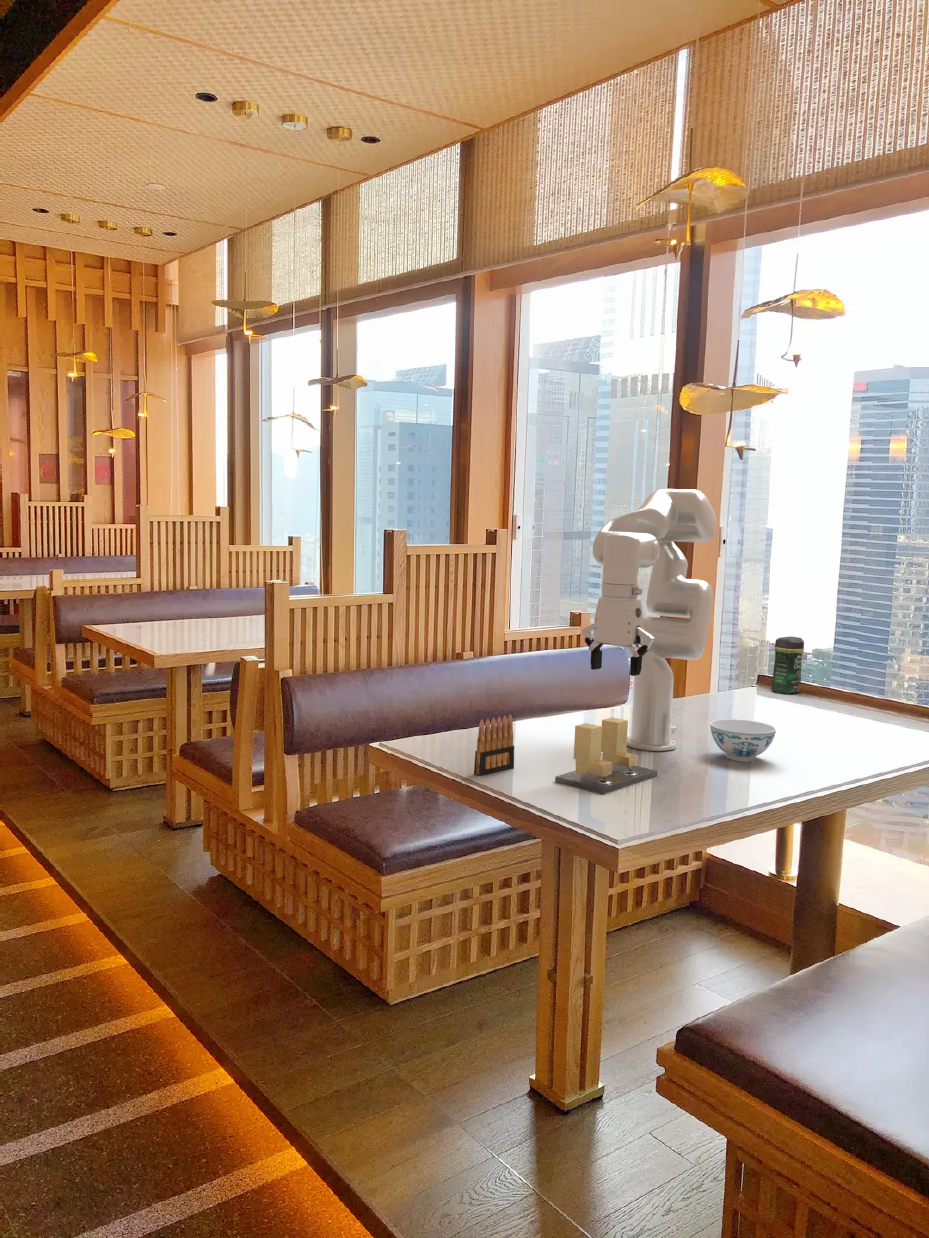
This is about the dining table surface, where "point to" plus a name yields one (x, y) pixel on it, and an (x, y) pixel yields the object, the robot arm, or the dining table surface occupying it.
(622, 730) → the block
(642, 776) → the hole plate
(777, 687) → the coffee jar
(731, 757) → the chinaware
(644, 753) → the dining table surface
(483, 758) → the ammunition clip
